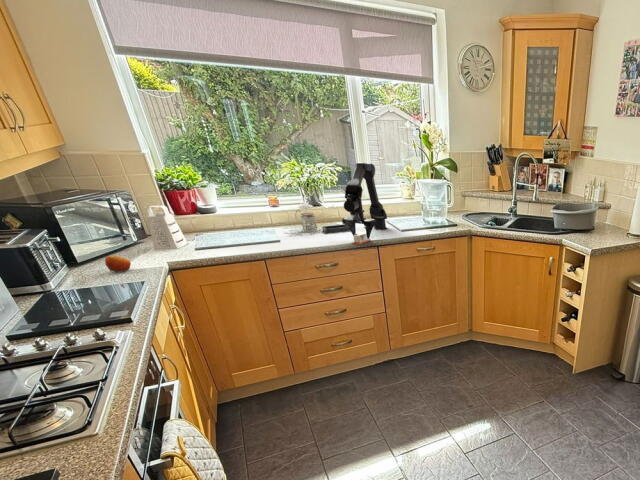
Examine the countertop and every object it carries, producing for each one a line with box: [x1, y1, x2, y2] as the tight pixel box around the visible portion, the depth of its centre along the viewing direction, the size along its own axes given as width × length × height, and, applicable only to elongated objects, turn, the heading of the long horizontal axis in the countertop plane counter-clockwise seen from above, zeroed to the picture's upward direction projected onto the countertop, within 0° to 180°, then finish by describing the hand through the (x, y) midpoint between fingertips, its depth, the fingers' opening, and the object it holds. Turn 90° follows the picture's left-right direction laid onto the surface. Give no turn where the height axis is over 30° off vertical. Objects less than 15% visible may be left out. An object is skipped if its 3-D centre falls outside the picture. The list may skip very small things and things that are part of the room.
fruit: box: [104, 254, 132, 275], centre depth 177 cm, size 8×8×8 cm
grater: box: [146, 205, 188, 250], centre depth 210 cm, size 10×10×20 cm
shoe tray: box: [321, 224, 351, 234], centre depth 253 cm, size 16×8×2 cm, turn 125°
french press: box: [294, 186, 320, 233], centre depth 246 cm, size 10×12×25 cm
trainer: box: [352, 231, 371, 245], centre depth 230 cm, size 9×4×4 cm, turn 160°
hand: (361, 237), depth 230 cm, fingers open, 9 cm apart
